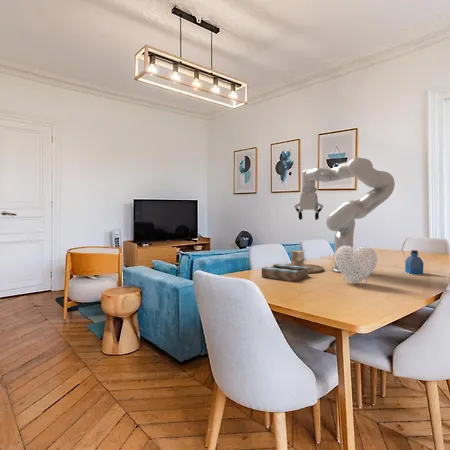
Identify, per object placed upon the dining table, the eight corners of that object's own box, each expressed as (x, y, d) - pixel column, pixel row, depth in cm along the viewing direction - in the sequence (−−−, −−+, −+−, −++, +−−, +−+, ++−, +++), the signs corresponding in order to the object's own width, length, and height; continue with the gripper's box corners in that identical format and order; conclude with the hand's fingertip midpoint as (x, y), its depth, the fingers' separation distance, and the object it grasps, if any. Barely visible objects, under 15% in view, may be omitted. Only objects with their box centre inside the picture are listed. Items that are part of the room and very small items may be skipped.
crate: (308, 276, 169) (308, 267, 169) (294, 281, 156) (294, 271, 156) (276, 272, 180) (276, 263, 179) (261, 277, 167) (261, 268, 167)
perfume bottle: (417, 272, 177) (417, 249, 176) (423, 274, 170) (423, 251, 170) (405, 272, 177) (405, 249, 177) (410, 274, 171) (410, 251, 170)
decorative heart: (331, 283, 152) (332, 246, 151) (337, 279, 161) (338, 244, 160) (374, 288, 142) (375, 248, 141) (378, 283, 151) (379, 246, 150)
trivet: (291, 265, 205) (291, 262, 205) (330, 269, 189) (330, 266, 189) (269, 271, 186) (269, 267, 186) (311, 276, 170) (311, 273, 170)
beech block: (303, 266, 188) (303, 251, 188) (299, 268, 184) (299, 251, 184) (295, 266, 191) (295, 250, 191) (291, 267, 187) (291, 251, 187)
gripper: (325, 190, 195) (324, 219, 196) (297, 191, 205) (297, 219, 206) (321, 189, 189) (321, 220, 190) (292, 191, 199) (292, 219, 199)
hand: (308, 219), depth 198 cm, fingers open, 9 cm apart
